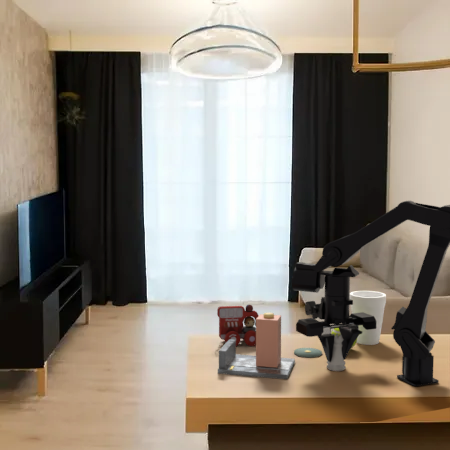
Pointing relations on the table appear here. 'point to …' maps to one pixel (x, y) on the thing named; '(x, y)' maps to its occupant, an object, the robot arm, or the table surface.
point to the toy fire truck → (237, 324)
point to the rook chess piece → (337, 355)
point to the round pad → (308, 352)
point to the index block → (268, 340)
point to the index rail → (250, 364)
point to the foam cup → (370, 305)
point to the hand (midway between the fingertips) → (336, 360)
